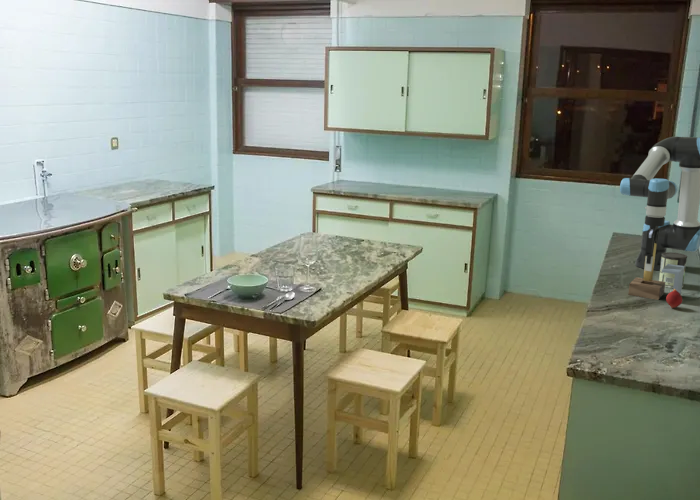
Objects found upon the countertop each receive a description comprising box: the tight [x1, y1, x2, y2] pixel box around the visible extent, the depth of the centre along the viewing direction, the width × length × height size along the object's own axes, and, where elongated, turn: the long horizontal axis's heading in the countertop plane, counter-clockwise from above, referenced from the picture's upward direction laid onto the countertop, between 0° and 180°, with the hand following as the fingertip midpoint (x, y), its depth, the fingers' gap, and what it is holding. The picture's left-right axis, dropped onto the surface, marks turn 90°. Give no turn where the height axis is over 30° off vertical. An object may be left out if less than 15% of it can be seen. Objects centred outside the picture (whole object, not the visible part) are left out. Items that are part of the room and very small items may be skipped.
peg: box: [643, 243, 657, 281], centre depth 280 cm, size 4×4×16 cm
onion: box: [665, 288, 683, 309], centre depth 264 cm, size 6×6×8 cm
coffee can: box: [658, 251, 688, 289], centre depth 295 cm, size 10×10×14 cm
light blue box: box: [662, 264, 686, 295], centre depth 277 cm, size 12×7×13 cm, turn 145°
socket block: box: [627, 277, 666, 301], centre depth 283 cm, size 12×12×5 cm
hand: (649, 269), depth 281 cm, fingers closed on peg, 3 cm apart
